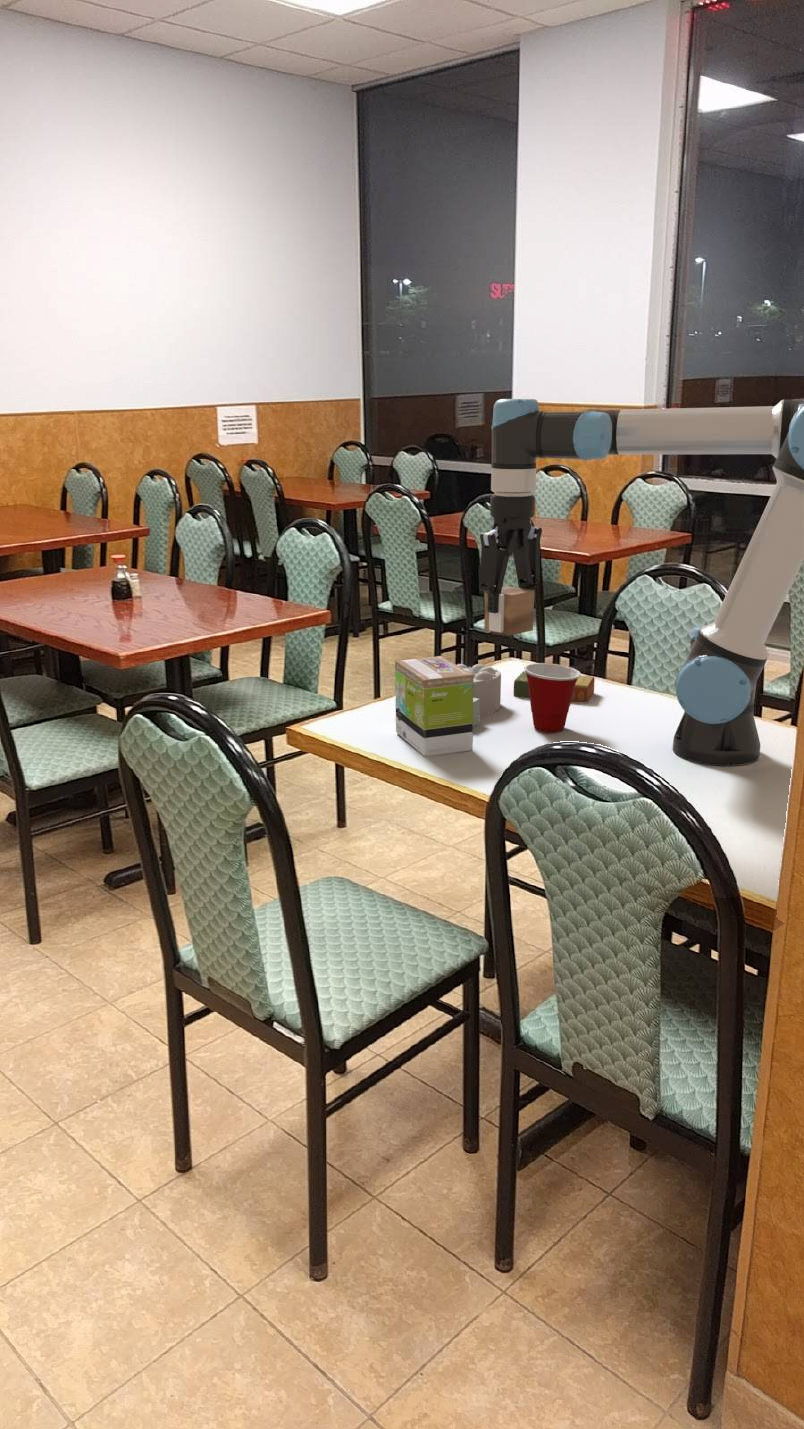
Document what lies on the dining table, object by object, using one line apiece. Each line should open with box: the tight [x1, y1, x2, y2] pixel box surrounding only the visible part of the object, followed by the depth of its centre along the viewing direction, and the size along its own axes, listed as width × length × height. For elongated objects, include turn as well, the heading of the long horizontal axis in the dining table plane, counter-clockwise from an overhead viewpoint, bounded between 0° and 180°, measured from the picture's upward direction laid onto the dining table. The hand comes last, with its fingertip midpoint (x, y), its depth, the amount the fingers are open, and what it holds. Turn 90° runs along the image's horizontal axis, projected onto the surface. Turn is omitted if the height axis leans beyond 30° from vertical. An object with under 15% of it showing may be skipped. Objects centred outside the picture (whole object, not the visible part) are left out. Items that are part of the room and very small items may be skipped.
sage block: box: [473, 698, 480, 727], centre depth 212 cm, size 5×5×5 cm
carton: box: [513, 670, 595, 704], centre depth 232 cm, size 8×16×4 cm, turn 71°
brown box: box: [483, 585, 535, 636], centre depth 188 cm, size 6×6×7 cm
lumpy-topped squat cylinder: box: [456, 663, 502, 716], centre depth 222 cm, size 10×13×9 cm
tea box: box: [394, 655, 474, 758], centre depth 199 cm, size 15×10×15 cm
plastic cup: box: [523, 662, 582, 734], centre depth 208 cm, size 11×11×12 cm
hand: (508, 627), depth 189 cm, fingers closed on brown box, 6 cm apart
